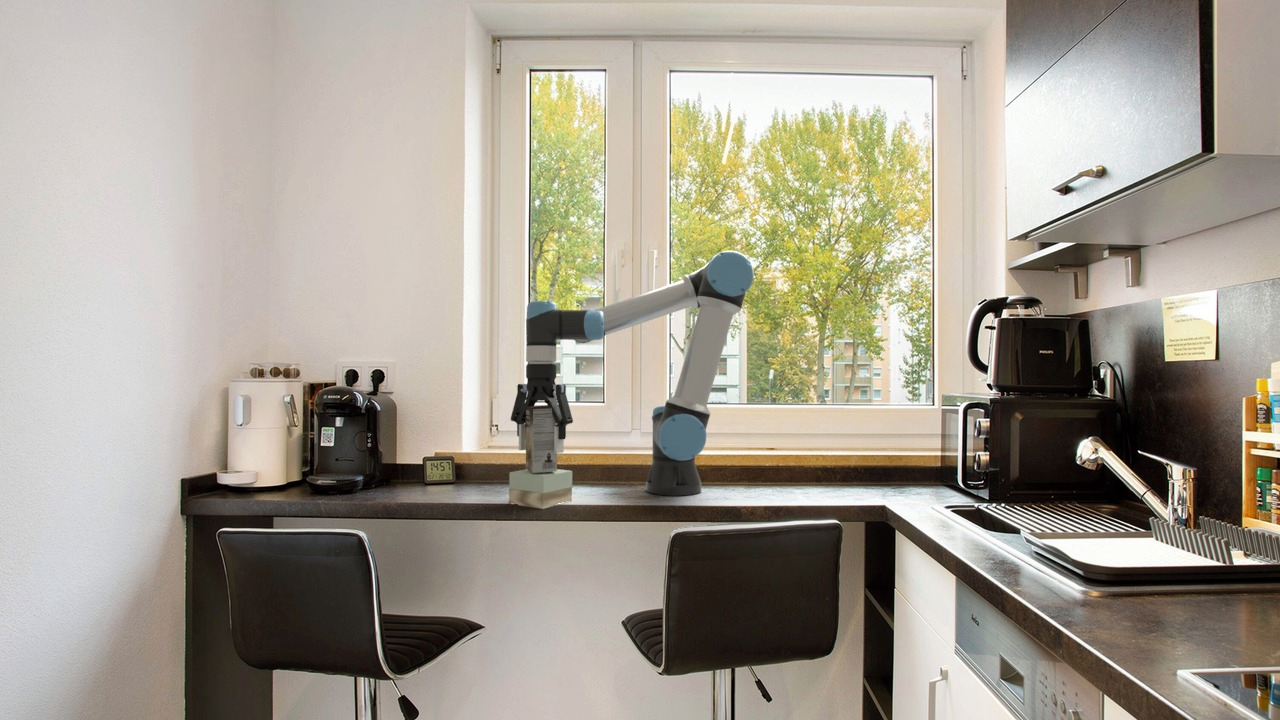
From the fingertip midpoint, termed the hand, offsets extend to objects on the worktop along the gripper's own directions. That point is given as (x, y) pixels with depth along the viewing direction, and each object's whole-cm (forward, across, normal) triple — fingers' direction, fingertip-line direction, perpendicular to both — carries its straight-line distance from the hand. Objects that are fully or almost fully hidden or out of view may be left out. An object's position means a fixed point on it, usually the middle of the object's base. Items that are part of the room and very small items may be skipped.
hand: (540, 451), depth 158 cm
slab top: (+9, 0, 0) cm, 9 cm away
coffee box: (+5, 0, 0) cm, 5 cm away
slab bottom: (+13, 0, 0) cm, 13 cm away
